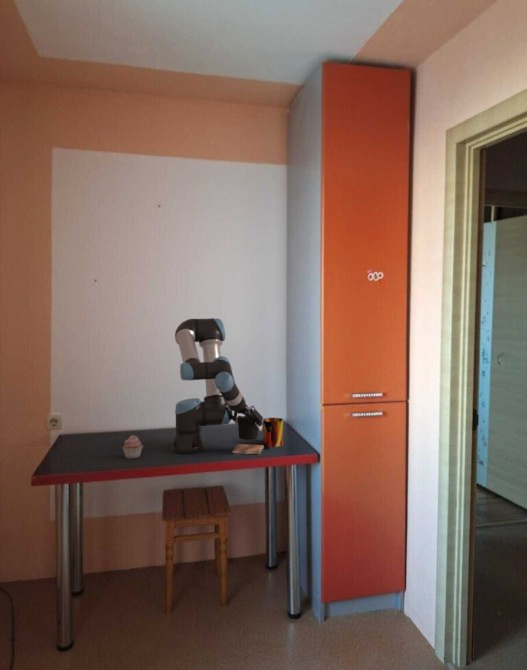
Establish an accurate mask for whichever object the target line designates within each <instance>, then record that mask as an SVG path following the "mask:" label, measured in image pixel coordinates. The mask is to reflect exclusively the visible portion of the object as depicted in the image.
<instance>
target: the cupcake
mask: <svg viewBox="0 0 527 670" xmlns="http://www.w3.org/2000/svg"><path fill="white" fill-rule="evenodd" d="M143 447H144V445H143V444H142V442H141V441H140V439H139V438H138V437H137V436H136V435H134V434H132V435H130V436H129V437H128V439H126V440H125V441H124V445H123V446H121V448H122V450H123V452H124V456H125V458H126V459H129V460H131V459H132V460H133V459H134V458H135V459H138V458H139V457H141V454H142V450H143Z"/></svg>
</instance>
